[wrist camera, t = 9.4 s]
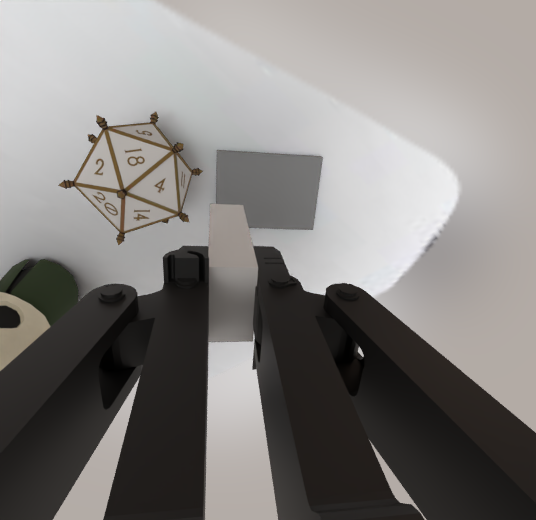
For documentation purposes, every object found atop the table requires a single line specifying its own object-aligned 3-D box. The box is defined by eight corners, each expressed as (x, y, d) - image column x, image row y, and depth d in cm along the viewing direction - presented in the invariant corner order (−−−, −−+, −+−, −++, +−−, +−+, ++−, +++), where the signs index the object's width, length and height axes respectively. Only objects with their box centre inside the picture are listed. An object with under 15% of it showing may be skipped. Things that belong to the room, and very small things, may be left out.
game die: (217, 198, 32) (215, 240, 23) (126, 227, 32) (89, 281, 23) (177, 91, 28) (155, 92, 19) (74, 126, 28) (5, 143, 19)
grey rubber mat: (215, 224, 33) (215, 226, 32) (217, 150, 30) (216, 151, 30) (311, 227, 34) (312, 229, 34) (320, 156, 31) (322, 157, 31)
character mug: (100, 250, 33) (33, 339, 21) (112, 316, 36) (59, 425, 24) (-30, 252, 31) (-179, 348, 20) (-6, 320, 34) (-123, 438, 23)
